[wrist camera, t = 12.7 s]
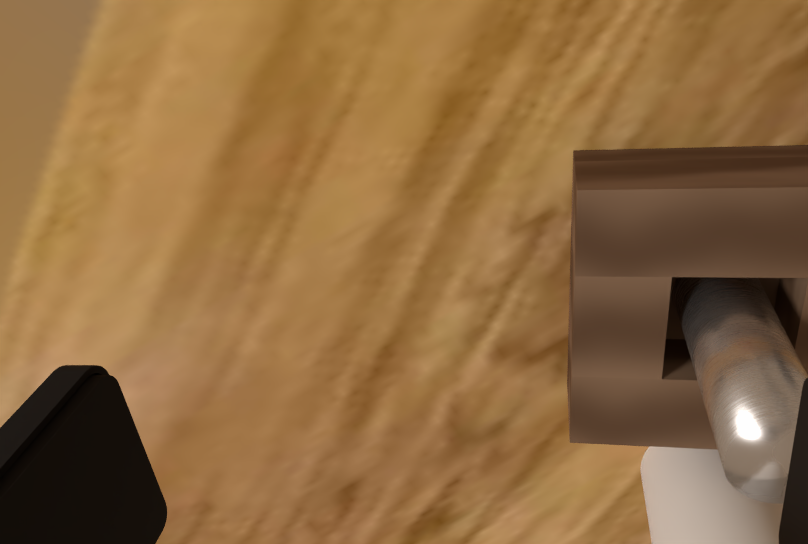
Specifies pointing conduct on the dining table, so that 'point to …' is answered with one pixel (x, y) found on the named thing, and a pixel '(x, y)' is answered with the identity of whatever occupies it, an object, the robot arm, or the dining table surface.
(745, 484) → the steel peg
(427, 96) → the dining table surface
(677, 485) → the cylindrical container
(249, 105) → the dining table surface
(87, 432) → the robot arm
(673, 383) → the walnut socket block
